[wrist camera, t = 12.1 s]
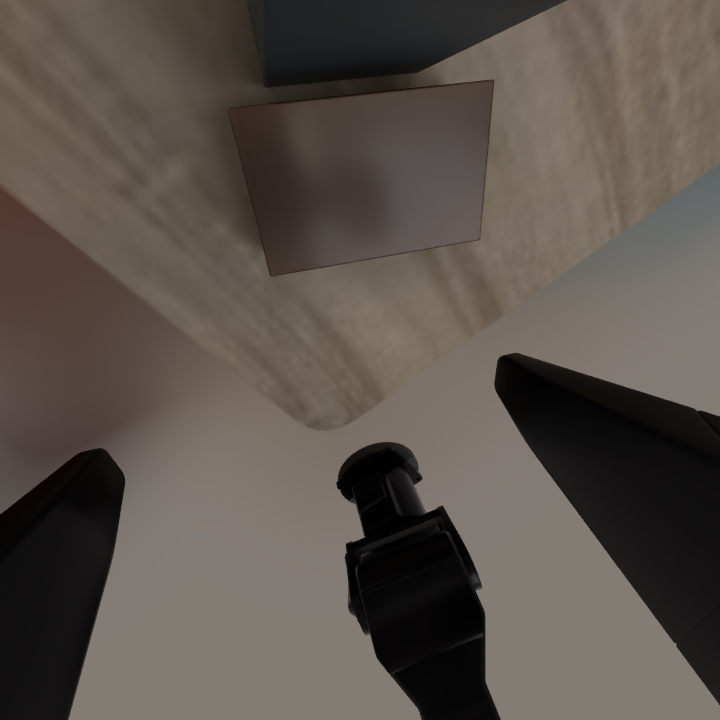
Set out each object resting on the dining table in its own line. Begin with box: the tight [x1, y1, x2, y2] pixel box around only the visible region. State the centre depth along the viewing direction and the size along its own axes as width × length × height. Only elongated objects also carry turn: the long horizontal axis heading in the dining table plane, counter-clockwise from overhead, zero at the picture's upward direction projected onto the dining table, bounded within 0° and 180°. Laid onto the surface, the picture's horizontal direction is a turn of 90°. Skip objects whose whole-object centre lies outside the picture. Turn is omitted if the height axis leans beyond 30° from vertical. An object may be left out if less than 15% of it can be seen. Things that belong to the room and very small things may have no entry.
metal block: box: [228, 80, 494, 276], centre depth 16 cm, size 6×10×4 cm, turn 96°
